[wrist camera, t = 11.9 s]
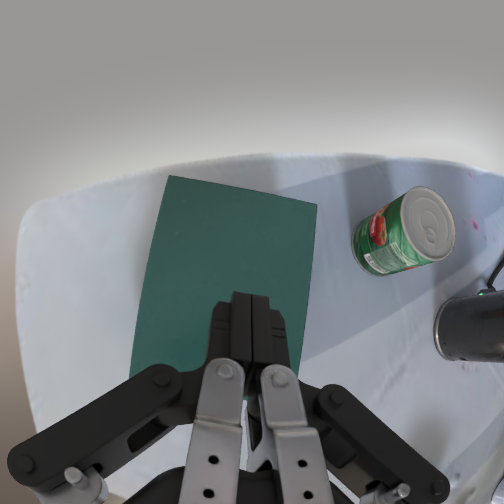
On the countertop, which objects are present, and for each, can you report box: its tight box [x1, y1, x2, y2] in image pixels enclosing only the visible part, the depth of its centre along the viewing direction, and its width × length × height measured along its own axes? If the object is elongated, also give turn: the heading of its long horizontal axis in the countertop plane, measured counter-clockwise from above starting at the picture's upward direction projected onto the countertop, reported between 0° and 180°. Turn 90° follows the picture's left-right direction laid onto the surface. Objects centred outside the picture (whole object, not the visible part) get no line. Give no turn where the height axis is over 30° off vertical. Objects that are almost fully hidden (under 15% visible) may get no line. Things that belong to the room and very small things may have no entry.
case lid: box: [129, 175, 317, 400], centre depth 23 cm, size 16×13×1 cm
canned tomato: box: [352, 186, 456, 277], centre depth 32 cm, size 8×8×11 cm
